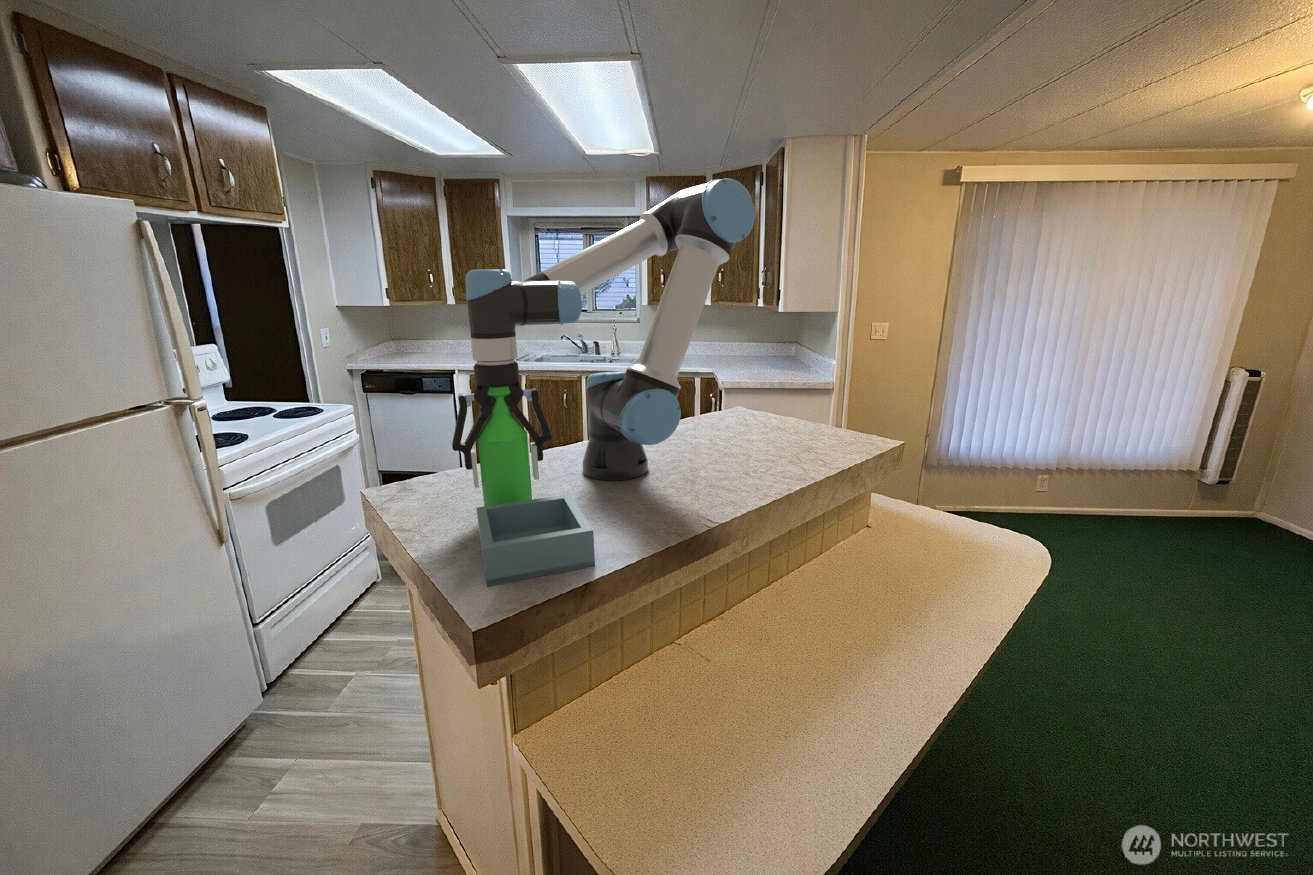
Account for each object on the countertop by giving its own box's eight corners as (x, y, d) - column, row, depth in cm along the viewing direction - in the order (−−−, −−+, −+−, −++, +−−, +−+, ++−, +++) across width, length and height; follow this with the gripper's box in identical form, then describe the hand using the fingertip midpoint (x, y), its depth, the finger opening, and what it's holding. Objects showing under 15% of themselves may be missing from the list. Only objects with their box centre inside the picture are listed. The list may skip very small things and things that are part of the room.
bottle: (488, 528, 98) (474, 390, 91) (482, 510, 106) (469, 382, 99) (537, 519, 101) (527, 386, 95) (528, 503, 109) (518, 378, 102)
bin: (572, 524, 99) (570, 493, 97) (594, 565, 84) (593, 530, 83) (479, 540, 93) (476, 507, 92) (487, 586, 79) (483, 548, 77)
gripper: (556, 355, 103) (563, 467, 109) (426, 362, 95) (441, 482, 101) (564, 360, 96) (571, 479, 102) (425, 368, 88) (441, 497, 94)
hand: (506, 481), depth 102 cm, fingers open, 10 cm apart
